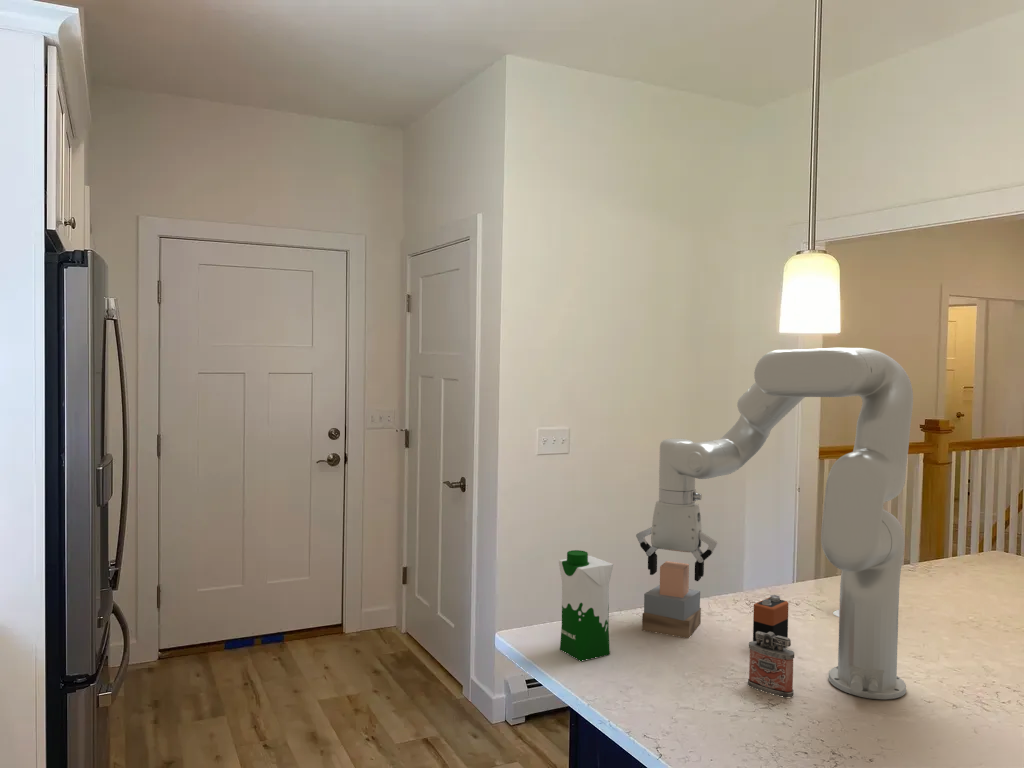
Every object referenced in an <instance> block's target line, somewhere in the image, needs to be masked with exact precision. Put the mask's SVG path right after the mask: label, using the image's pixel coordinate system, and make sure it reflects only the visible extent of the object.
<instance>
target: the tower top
mask: <svg viewBox="0 0 1024 768" xmlns="http://www.w3.org/2000/svg"><path fill="white" fill-rule="evenodd" d="M700 608H701V590H697V589H691V588H689V592H688V593H687V594H686V595H685V596H684V597H683V598H681V597H674V596H667V595H661V594H660V584H659V585H657V586H655V587H654V588H651V589H650V590H648V591H646V592H645V593H644V596H643V613H644V612H645V613H650V614H655V615H659V616H664V617H669V618H673V619H678V620H683V621H684V620H686V619H687V618H689V617H690V616H691V615H693V614H694V613H696V612H697V611H698V610H700Z"/></svg>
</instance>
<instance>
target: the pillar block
mask: <svg viewBox="0 0 1024 768" xmlns="http://www.w3.org/2000/svg"><path fill="white" fill-rule="evenodd" d="M689 582H690V564H689V563H683V562H676V561H669V560H666V561H664V563H662V564H661V565H660V566H659V585H660V594H661V595H667V596H674V597H681V598H683V597H684V596H685V595H686V594H687V593H688V592H689V589H690V586H689V585H690V583H689Z"/></svg>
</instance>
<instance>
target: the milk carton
mask: <svg viewBox="0 0 1024 768" xmlns="http://www.w3.org/2000/svg"><path fill="white" fill-rule="evenodd" d="M558 564H559V565H558V566H559V571H560V577H561V629H560V644H559V650H560V651H561V650H562V652H563V651H564V653H565V652H566V653H565V654H567V653H568V654H569V655H568V654H567V655H568V656H570V655H571V656H570V657H572V656H573V657H575V658H577V659H578V660H577V659H576V660H577V661H579V660H580V661H581V662H583V661H582V660H585V661H587V660H586V659H590V660H592V659H591V658H594V659H596V658H595V657H598V658H601V657H600V656H602V657H605V656H604V655H606V656H609V654H611V651H610V649H611V648H610V631H609V627H610V626H609V625H610V624H609V622H610V620H609V619H610V618H609V613H610V612H609V611H610V610H609V608H610V607H609V606H610V581H611V576H612V571H613V567H614V564H613V563H611V562H608V561H605V560H604V559H600V558H598V557H595V556H593V555H589V553H588V552H587V551H585V550H581V549H580V550H578V549H575V550H568V551H567V553H566V558H563V559H558ZM573 657H572V658H573ZM575 658H574V659H575ZM580 661H579V662H580Z"/></svg>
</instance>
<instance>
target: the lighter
mask: <svg viewBox="0 0 1024 768" xmlns="http://www.w3.org/2000/svg"><path fill="white" fill-rule="evenodd" d="M761 641H762V642H761ZM791 643H792V640H791V639H790V638H789V637H788V638H786V637H783V636H779V635H778V636H775V634H774V633H773V632H768V633H764V632H760V631H757V632H756V641H753V640H751V641H748V649H749V659H748V660H749V665H748V669H749V670H748V673H749V674H748V679H747V686H748V685H749V686H751V687H750V688H752V687H753V688H752V689H754V688H756V689H758V690H757V691H759V690H762V691H764V692H763V693H765V692H767V693H766V694H768V693H771V694H774V695H773V696H775V695H779V696H783V697H792V696H793V695H794V689H793V687H794V686H793V684H794V682H793V681H794V659H795V654H796V653H795V651H793V650H791V649H788V648H789V647H791ZM778 644H779V645H778ZM783 646H785V647H786V648H785V647H783ZM749 686H748V687H749ZM756 689H755V690H756ZM762 691H761V692H762ZM771 694H770V695H771ZM779 696H778V697H779ZM783 697H782V698H783ZM793 697H794V696H793ZM793 697H792V698H793Z"/></svg>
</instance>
